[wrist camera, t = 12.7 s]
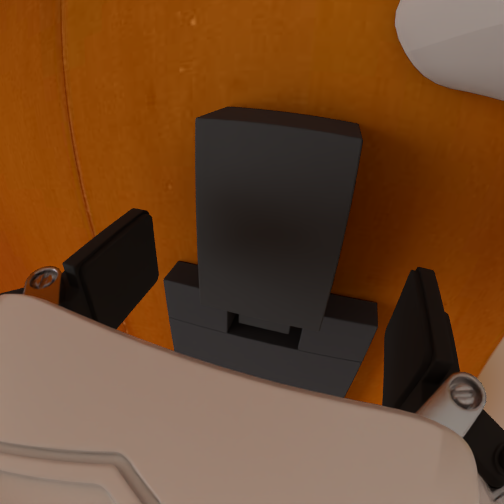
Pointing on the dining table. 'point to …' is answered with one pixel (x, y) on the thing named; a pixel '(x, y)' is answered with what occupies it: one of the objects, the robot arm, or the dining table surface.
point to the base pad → (271, 338)
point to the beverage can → (455, 42)
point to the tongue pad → (272, 212)
